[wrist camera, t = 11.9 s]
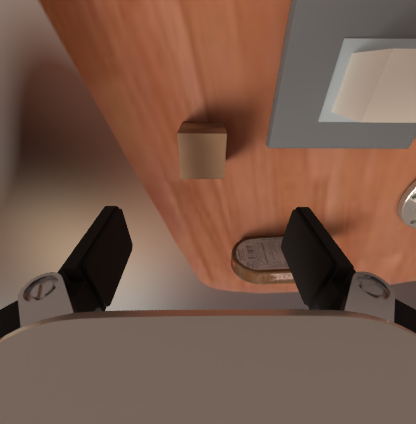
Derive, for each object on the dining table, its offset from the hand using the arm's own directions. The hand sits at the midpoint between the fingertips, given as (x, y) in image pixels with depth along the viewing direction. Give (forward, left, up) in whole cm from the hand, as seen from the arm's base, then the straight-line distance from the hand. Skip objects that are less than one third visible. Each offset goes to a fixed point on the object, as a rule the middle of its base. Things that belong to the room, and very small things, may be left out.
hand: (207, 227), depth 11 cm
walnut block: (+1, +1, -17) cm, 17 cm away
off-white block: (-16, -6, -15) cm, 23 cm away
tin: (-11, +18, -17) cm, 27 cm away
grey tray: (-16, -6, -17) cm, 24 cm away
